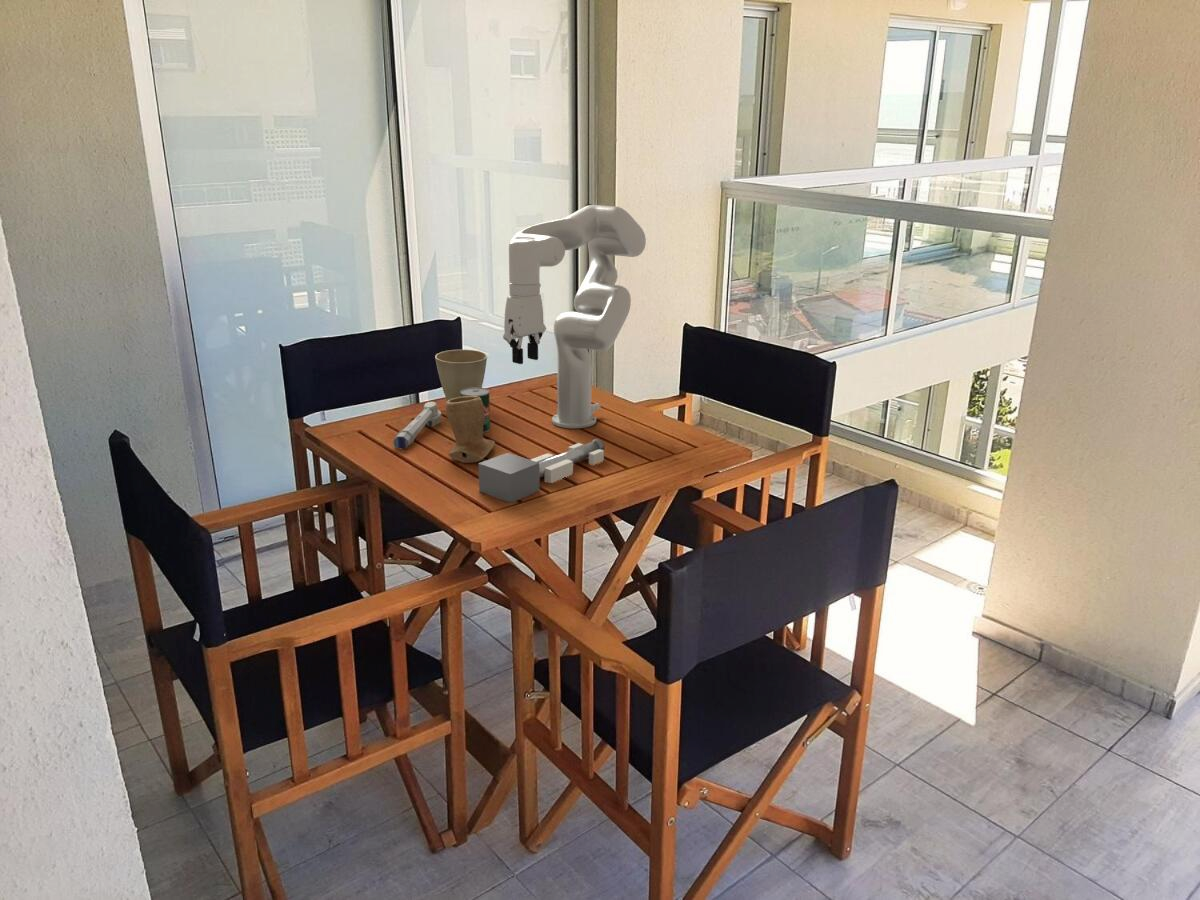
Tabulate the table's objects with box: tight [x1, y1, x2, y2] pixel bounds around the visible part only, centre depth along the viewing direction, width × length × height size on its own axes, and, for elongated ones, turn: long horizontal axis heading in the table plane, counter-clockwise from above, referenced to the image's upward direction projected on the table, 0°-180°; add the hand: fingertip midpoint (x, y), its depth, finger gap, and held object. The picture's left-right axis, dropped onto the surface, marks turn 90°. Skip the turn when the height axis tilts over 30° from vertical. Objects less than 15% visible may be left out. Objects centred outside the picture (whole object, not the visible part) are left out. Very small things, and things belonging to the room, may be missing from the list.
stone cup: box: [445, 396, 496, 464], centre depth 238 cm, size 15×12×15 cm
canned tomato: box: [460, 387, 491, 434], centre depth 257 cm, size 8×8×11 cm
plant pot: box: [434, 349, 488, 402], centre depth 275 cm, size 15×15×16 cm
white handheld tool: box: [392, 401, 442, 450], centre depth 254 cm, size 5×7×25 cm
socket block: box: [478, 452, 540, 504], centre depth 217 cm, size 10×10×7 cm
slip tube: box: [539, 438, 605, 479], centre depth 233 cm, size 24×4×4 cm, turn 141°
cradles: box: [530, 442, 605, 484], centre depth 232 cm, size 20×8×4 cm, turn 141°
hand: (525, 360), depth 239 cm, fingers open, 4 cm apart
